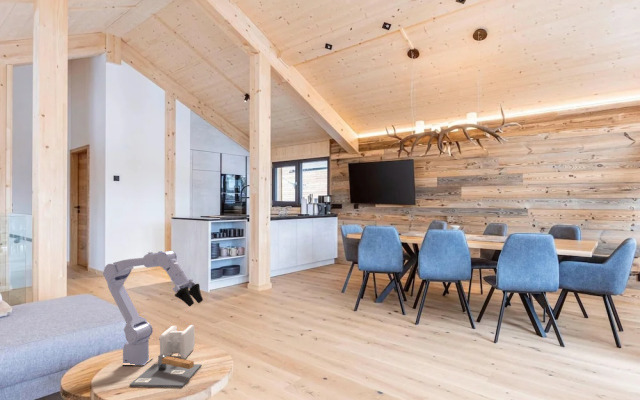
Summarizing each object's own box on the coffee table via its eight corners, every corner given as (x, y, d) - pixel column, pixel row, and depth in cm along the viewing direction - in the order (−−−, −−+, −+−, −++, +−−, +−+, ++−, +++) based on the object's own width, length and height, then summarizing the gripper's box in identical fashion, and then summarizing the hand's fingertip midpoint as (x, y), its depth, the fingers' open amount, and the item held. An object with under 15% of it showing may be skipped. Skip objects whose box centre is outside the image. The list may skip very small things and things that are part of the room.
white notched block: (183, 362, 160) (183, 334, 160) (158, 362, 160) (158, 335, 160) (195, 348, 175) (194, 323, 175) (172, 349, 175) (172, 324, 175)
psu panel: (129, 386, 139) (129, 383, 139) (154, 365, 157) (154, 363, 157) (182, 387, 138) (182, 384, 138) (201, 366, 156) (201, 363, 156)
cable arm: (156, 369, 151) (156, 356, 151) (162, 366, 153) (162, 354, 153) (188, 377, 144) (188, 363, 144) (194, 373, 147) (194, 360, 147)
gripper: (176, 271, 148) (195, 300, 146) (194, 268, 162) (211, 294, 160) (162, 282, 149) (181, 311, 146) (181, 278, 163) (199, 304, 160)
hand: (196, 303), depth 153 cm, fingers open, 7 cm apart
